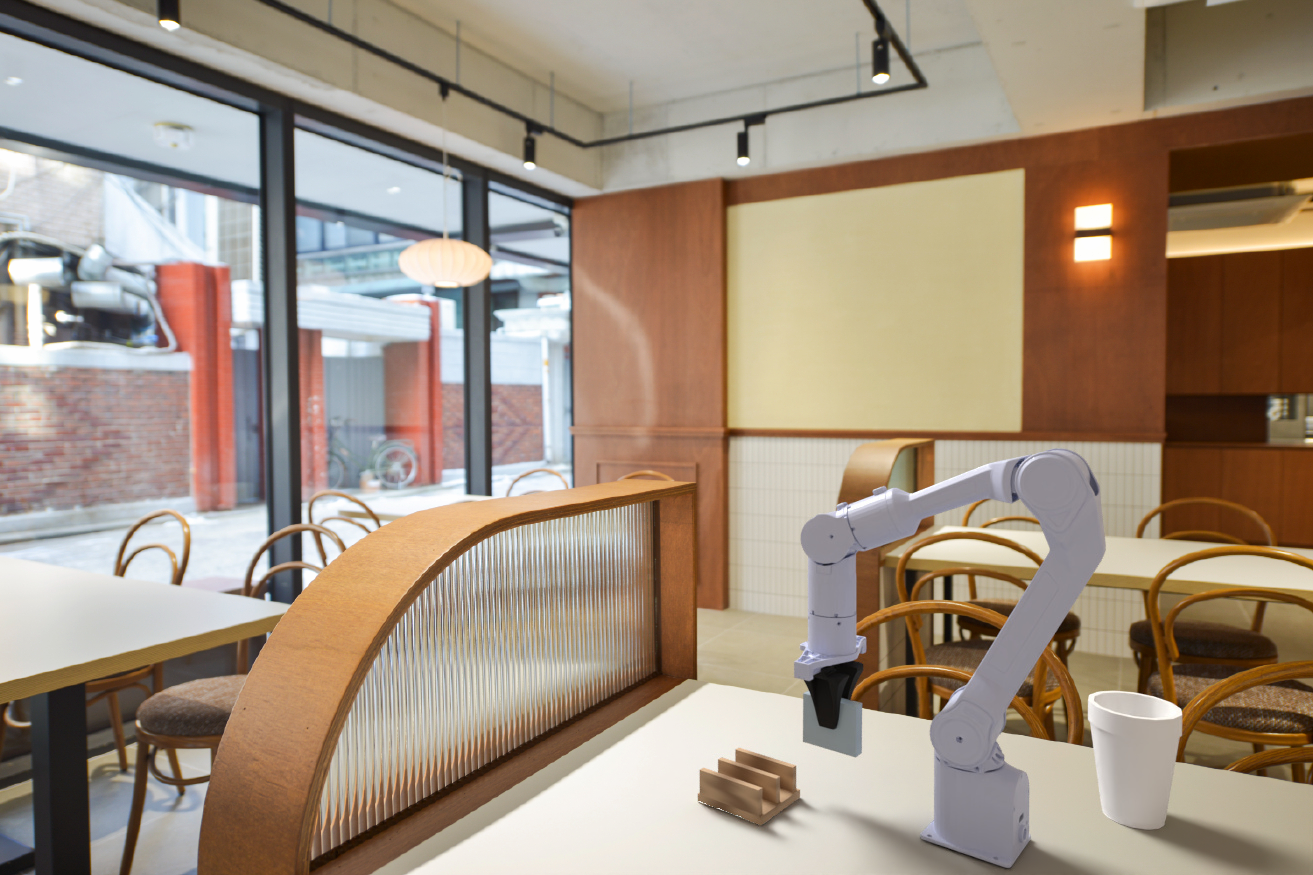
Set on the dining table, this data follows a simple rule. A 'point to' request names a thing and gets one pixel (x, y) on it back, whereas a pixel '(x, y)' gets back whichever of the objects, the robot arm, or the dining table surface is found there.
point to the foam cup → (1134, 755)
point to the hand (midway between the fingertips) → (831, 724)
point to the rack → (750, 786)
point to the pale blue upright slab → (839, 739)
